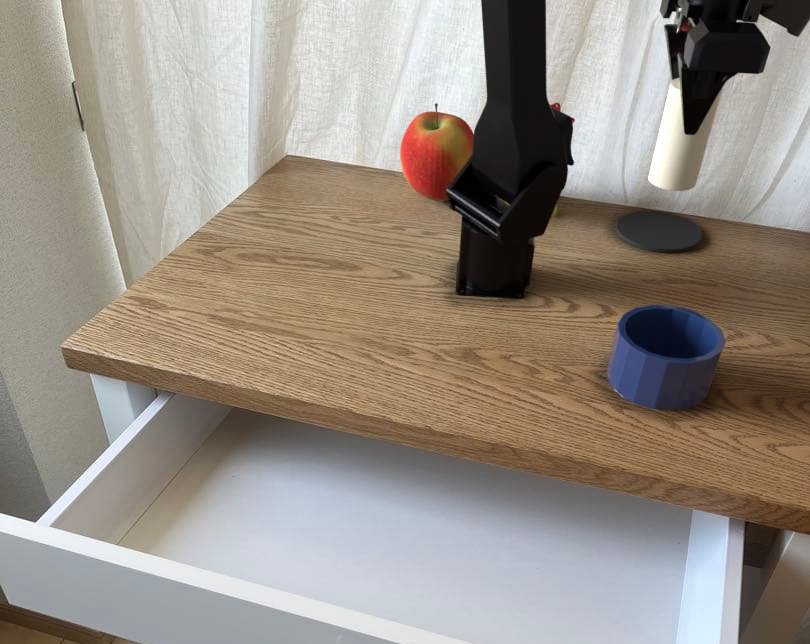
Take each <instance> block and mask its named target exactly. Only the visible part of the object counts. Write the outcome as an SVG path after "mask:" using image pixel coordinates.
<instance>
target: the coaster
mask: <svg viewBox="0 0 810 644" xmlns="http://www.w3.org/2000/svg"><path fill="white" fill-rule="evenodd" d="M615 231H616V234H617V235H618V236H619V238H620V239H621V240H622V241H624V242H626V243H627V244H629V245H631V246H633V247H636V248H638V249H641V250H645V251H648V252H649V251H650V252H656V253H664V254H666V253H667V254H674V253H683V252H687V251H690V250H692V249H695V248H696V247H697V246H699V245H700V243H701V242H702V238H703V232H702V229H701V228H700V227H699V226H698V225H697V224H696V223H695V222H693V221H691V220H690V219H689V218H686V217H684V216H682V215H678V214H675V213H671V212H668V211H660V210H637V211H632V212H629V213H626V214H624V215H622V216H621V217H619V218H618V219H617V221H616V225H615Z"/></svg>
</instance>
